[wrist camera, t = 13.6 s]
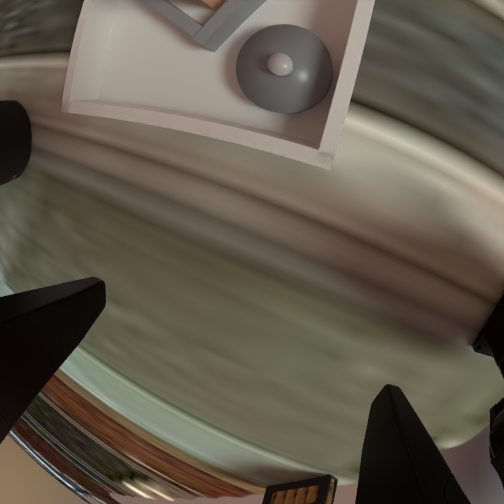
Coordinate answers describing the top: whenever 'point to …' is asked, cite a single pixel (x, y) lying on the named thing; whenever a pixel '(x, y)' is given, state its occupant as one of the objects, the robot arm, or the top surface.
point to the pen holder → (13, 140)
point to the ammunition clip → (303, 492)
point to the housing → (223, 69)
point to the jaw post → (213, 3)
